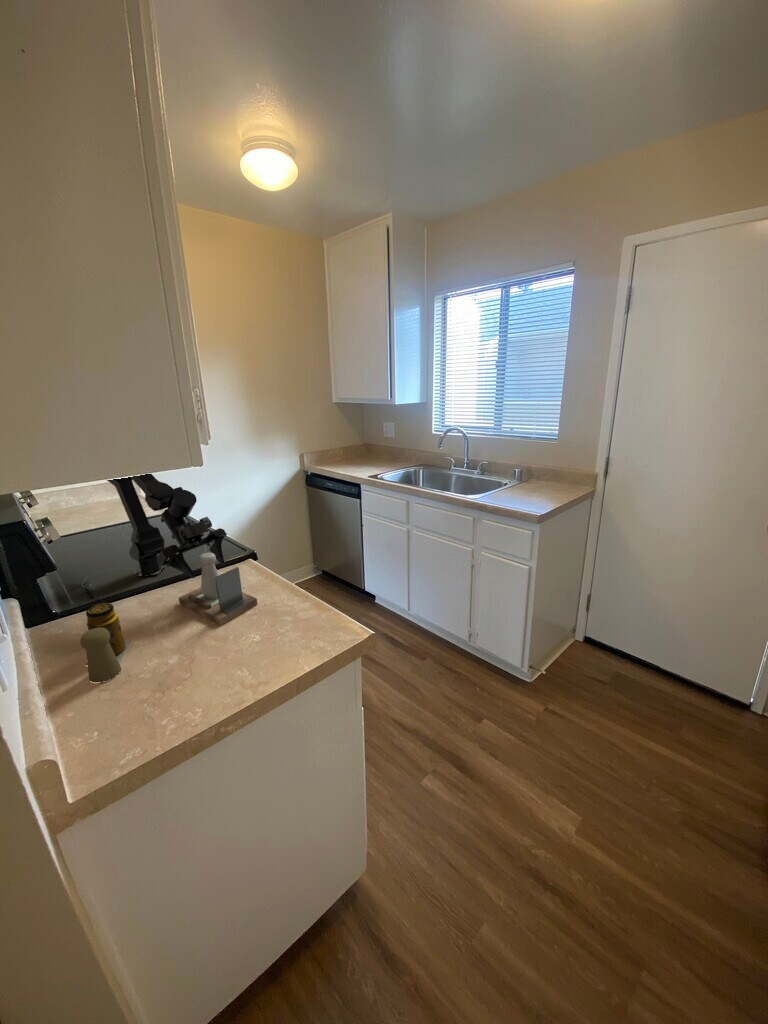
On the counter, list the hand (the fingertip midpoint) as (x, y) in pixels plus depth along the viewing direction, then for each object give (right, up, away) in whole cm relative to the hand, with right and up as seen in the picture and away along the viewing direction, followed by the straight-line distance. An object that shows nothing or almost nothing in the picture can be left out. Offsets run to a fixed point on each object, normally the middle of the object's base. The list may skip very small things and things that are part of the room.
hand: (209, 570), depth 115 cm
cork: (-13, -20, -24) cm, 33 cm away
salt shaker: (0, -8, +3) cm, 8 cm away
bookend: (+8, -9, -2) cm, 13 cm away
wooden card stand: (+2, -10, +2) cm, 10 cm away
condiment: (-16, -17, -18) cm, 30 cm away
